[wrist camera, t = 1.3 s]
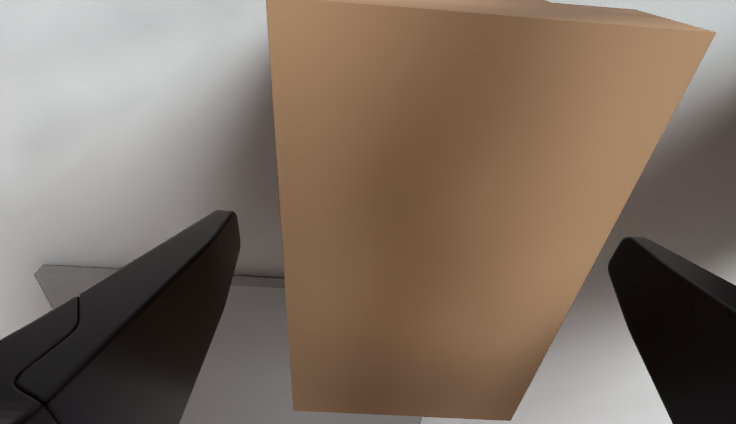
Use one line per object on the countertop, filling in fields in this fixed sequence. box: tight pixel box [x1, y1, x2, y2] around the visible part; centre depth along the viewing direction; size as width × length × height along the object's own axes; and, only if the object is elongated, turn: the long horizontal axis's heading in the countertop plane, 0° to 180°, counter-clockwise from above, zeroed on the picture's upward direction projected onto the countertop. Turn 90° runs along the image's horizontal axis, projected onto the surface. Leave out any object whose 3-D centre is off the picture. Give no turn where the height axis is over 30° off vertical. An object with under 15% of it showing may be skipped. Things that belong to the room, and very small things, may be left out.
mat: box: [34, 265, 422, 424], centre depth 22 cm, size 18×16×1 cm
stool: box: [266, 0, 716, 421], centre depth 11 cm, size 6×10×7 cm, turn 176°
